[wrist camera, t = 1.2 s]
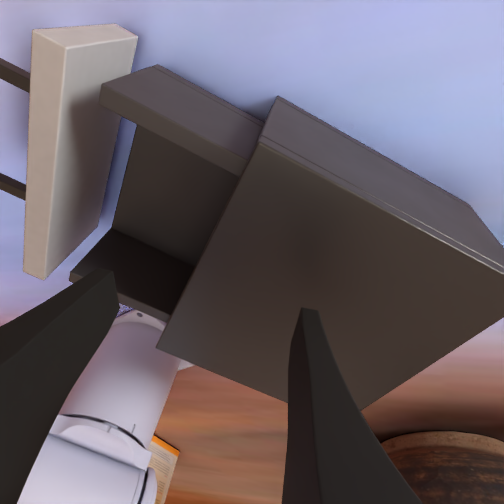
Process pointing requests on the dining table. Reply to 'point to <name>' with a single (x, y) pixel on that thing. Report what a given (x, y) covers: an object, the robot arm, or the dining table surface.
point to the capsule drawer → (138, 167)
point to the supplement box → (162, 466)
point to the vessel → (450, 466)
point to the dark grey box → (335, 265)
